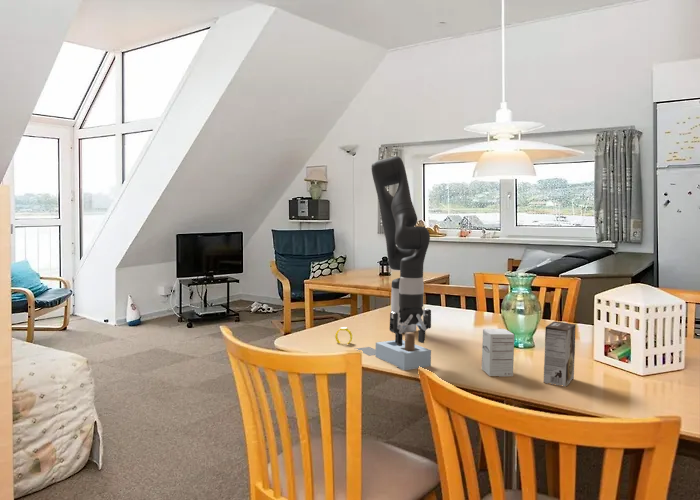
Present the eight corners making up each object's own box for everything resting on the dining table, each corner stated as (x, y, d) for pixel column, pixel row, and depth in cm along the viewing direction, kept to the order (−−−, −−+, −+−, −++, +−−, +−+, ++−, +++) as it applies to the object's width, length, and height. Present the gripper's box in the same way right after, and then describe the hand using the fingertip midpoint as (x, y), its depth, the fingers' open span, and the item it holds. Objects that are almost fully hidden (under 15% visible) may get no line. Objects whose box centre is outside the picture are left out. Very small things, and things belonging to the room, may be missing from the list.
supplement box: (480, 369, 172) (482, 328, 171) (504, 369, 173) (506, 328, 172) (488, 376, 165) (490, 333, 164) (513, 376, 166) (515, 333, 165)
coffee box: (551, 375, 167) (553, 320, 166) (574, 379, 164) (576, 323, 163) (542, 382, 160) (544, 326, 159) (566, 387, 156) (568, 329, 155)
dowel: (410, 363, 178) (411, 331, 178) (416, 365, 176) (416, 333, 175) (402, 364, 177) (403, 332, 176) (408, 366, 174) (408, 334, 174)
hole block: (400, 354, 189) (401, 339, 189) (430, 366, 175) (431, 350, 175) (375, 357, 184) (375, 342, 184) (404, 370, 171) (404, 353, 170)
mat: (369, 347, 197) (369, 346, 197) (384, 354, 189) (384, 353, 189) (354, 349, 194) (354, 348, 194) (369, 356, 186) (369, 355, 186)
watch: (334, 345, 202) (333, 328, 202) (337, 343, 205) (336, 326, 204) (350, 345, 200) (349, 328, 200) (353, 343, 203) (352, 327, 202)
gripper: (422, 288, 182) (421, 339, 183) (385, 291, 174) (384, 343, 176) (437, 291, 175) (436, 344, 176) (399, 294, 168) (398, 349, 169)
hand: (410, 343), depth 176 cm, fingers open, 8 cm apart
